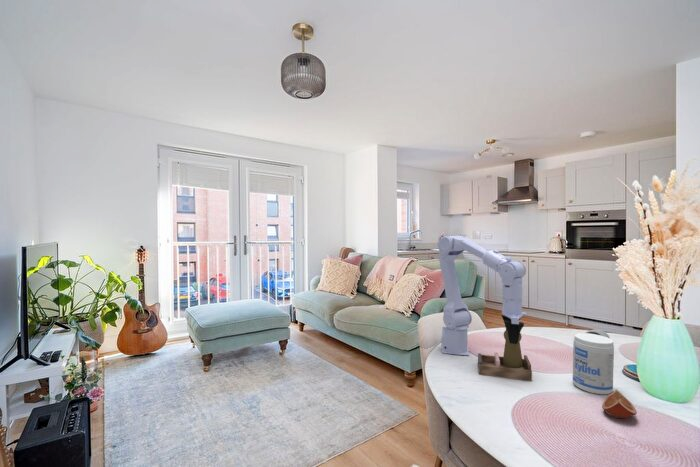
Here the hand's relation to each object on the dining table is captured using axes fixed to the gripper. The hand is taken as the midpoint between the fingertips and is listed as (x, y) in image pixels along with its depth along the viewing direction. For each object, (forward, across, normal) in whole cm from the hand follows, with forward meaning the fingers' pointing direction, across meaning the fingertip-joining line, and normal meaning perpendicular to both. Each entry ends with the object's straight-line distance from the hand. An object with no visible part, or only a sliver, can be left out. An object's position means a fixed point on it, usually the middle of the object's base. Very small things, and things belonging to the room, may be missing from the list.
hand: (512, 340), depth 108 cm
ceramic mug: (+11, +33, -32) cm, 48 cm away
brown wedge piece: (+11, -19, -22) cm, 31 cm away
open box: (+10, 0, +3) cm, 11 cm away
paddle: (+10, 0, +5) cm, 11 cm away
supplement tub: (+11, -4, -21) cm, 24 cm away
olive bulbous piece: (+8, 0, 0) cm, 8 cm away
